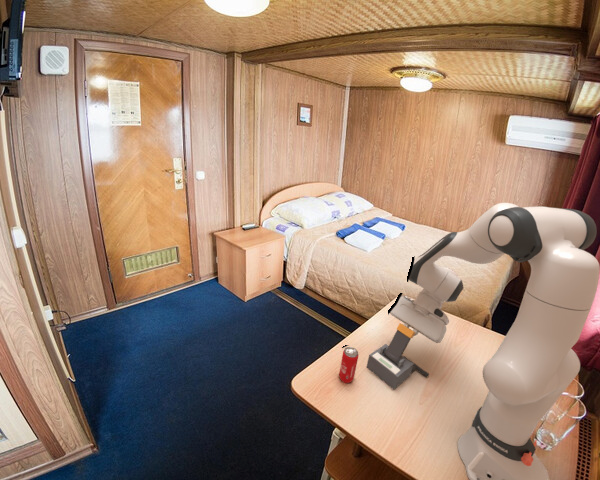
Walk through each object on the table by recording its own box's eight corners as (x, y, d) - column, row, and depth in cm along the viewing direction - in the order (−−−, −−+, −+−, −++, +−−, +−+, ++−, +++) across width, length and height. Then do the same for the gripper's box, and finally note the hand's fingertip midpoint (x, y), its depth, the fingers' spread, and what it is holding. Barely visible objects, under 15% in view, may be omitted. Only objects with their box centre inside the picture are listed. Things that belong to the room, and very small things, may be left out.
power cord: (428, 376, 110) (429, 373, 109) (420, 383, 107) (421, 379, 106) (402, 357, 118) (403, 354, 117) (395, 363, 114) (395, 360, 114)
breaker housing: (412, 374, 110) (418, 356, 107) (393, 389, 103) (399, 371, 100) (385, 353, 119) (390, 336, 115) (366, 367, 112) (370, 349, 108)
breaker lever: (399, 364, 106) (416, 332, 106) (396, 364, 105) (414, 332, 104) (385, 353, 110) (401, 323, 110) (382, 353, 109) (399, 322, 108)
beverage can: (353, 385, 104) (358, 359, 99) (338, 382, 104) (342, 355, 100) (353, 373, 108) (359, 348, 103) (339, 370, 109) (344, 344, 104)
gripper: (399, 290, 116) (378, 319, 114) (451, 318, 102) (428, 352, 100) (403, 296, 120) (383, 324, 118) (453, 324, 106) (432, 357, 104)
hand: (404, 337), depth 109 cm, fingers closed
